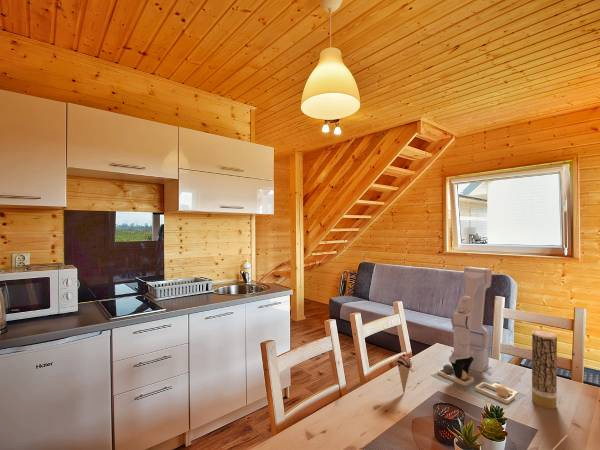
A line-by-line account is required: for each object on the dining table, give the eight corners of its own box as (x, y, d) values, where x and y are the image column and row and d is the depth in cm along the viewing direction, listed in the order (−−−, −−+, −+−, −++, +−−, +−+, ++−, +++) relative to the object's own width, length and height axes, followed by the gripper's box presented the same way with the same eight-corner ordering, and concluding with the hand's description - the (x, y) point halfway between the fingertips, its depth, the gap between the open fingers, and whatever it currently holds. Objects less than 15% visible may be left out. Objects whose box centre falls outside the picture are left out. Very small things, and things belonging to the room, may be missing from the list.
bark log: (561, 411, 106) (561, 337, 105) (538, 409, 107) (538, 336, 107) (549, 400, 112) (549, 331, 112) (528, 398, 114) (528, 329, 113)
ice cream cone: (394, 395, 115) (394, 355, 115) (397, 388, 120) (397, 349, 120) (410, 399, 113) (410, 358, 113) (412, 391, 118) (413, 352, 118)
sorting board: (452, 366, 138) (452, 362, 138) (525, 395, 115) (525, 391, 115) (430, 376, 129) (430, 372, 129) (505, 410, 106) (505, 405, 106)
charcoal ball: (446, 371, 133) (446, 361, 133) (455, 375, 130) (455, 365, 130) (441, 373, 131) (441, 364, 131) (450, 377, 128) (450, 367, 128)
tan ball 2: (498, 392, 116) (498, 382, 116) (510, 397, 113) (510, 386, 113) (493, 396, 114) (493, 385, 114) (505, 401, 111) (505, 390, 111)
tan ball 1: (459, 376, 129) (459, 366, 129) (468, 380, 125) (469, 370, 125) (453, 378, 126) (453, 369, 126) (463, 383, 123) (463, 373, 123)
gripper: (461, 335, 133) (461, 367, 133) (441, 343, 125) (441, 376, 125) (478, 340, 127) (478, 374, 127) (459, 348, 119) (459, 384, 119)
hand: (461, 375), depth 126 cm, fingers closed on tan ball 1, 4 cm apart
